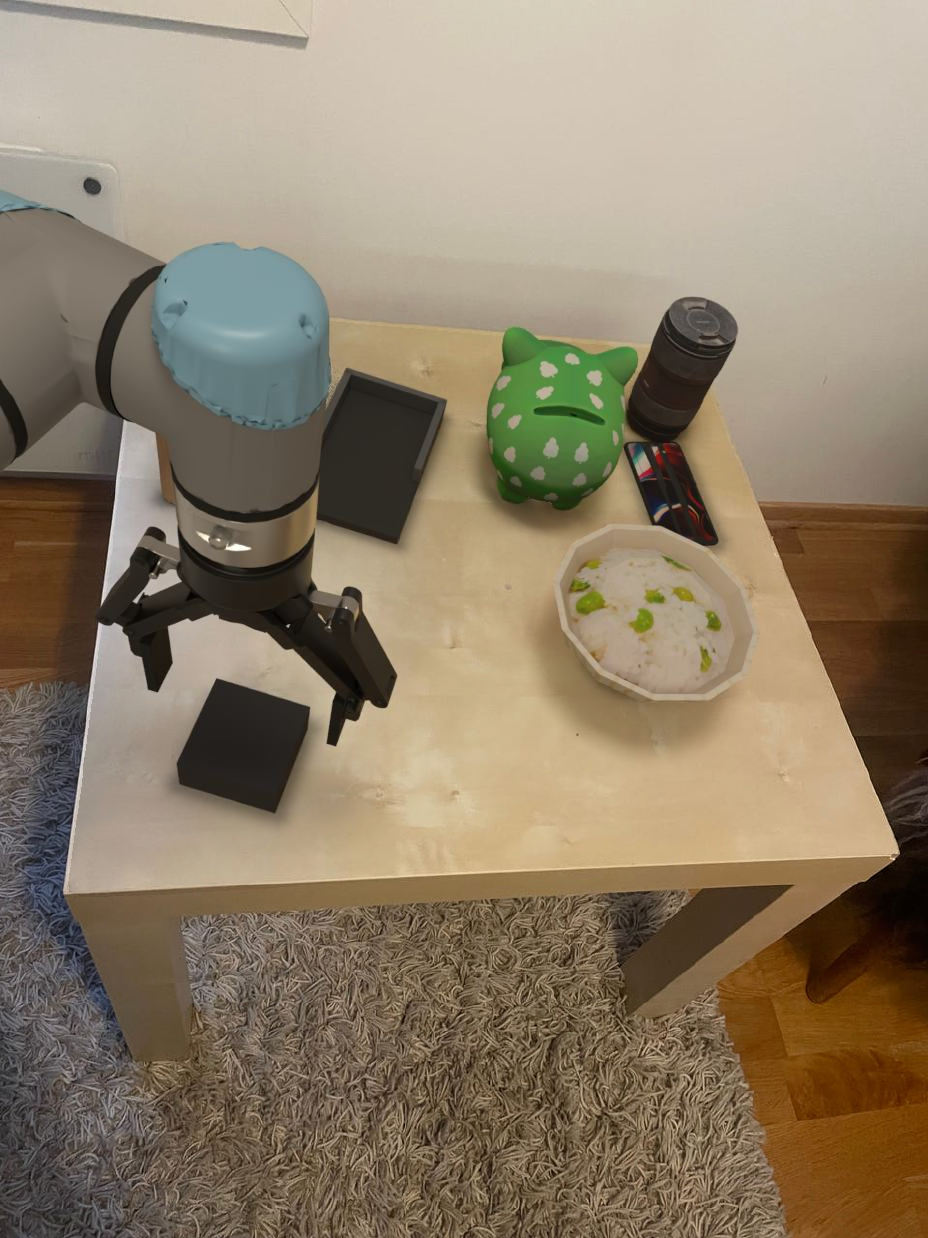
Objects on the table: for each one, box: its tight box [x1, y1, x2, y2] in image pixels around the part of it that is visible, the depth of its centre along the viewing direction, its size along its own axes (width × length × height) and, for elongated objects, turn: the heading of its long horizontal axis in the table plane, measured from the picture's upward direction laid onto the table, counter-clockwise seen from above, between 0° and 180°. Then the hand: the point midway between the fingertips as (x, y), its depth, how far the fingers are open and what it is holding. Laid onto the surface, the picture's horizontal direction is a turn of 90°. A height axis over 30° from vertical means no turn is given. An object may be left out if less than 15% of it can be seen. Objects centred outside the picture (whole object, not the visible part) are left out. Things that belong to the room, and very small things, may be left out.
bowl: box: [552, 523, 761, 703], centre depth 85 cm, size 19×19×10 cm
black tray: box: [316, 367, 448, 544], centre depth 96 cm, size 19×11×3 cm, turn 166°
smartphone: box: [623, 440, 719, 547], centre depth 103 cm, size 7×1×15 cm
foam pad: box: [176, 677, 311, 814], centre depth 75 cm, size 8×8×4 cm
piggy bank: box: [485, 326, 639, 511], centre depth 95 cm, size 14×18×15 cm
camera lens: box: [626, 296, 739, 442], centre depth 103 cm, size 8×8×15 cm
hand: (248, 703), depth 69 cm, fingers open, 13 cm apart
